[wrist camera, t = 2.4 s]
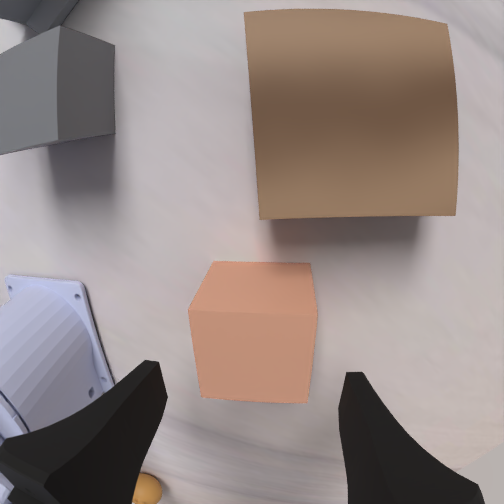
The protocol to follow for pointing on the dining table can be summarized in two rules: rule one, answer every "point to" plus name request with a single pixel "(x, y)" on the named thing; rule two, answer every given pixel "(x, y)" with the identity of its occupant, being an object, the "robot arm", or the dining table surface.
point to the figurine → (147, 490)
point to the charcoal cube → (56, 90)
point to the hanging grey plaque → (37, 12)
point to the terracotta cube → (255, 331)
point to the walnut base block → (352, 114)
